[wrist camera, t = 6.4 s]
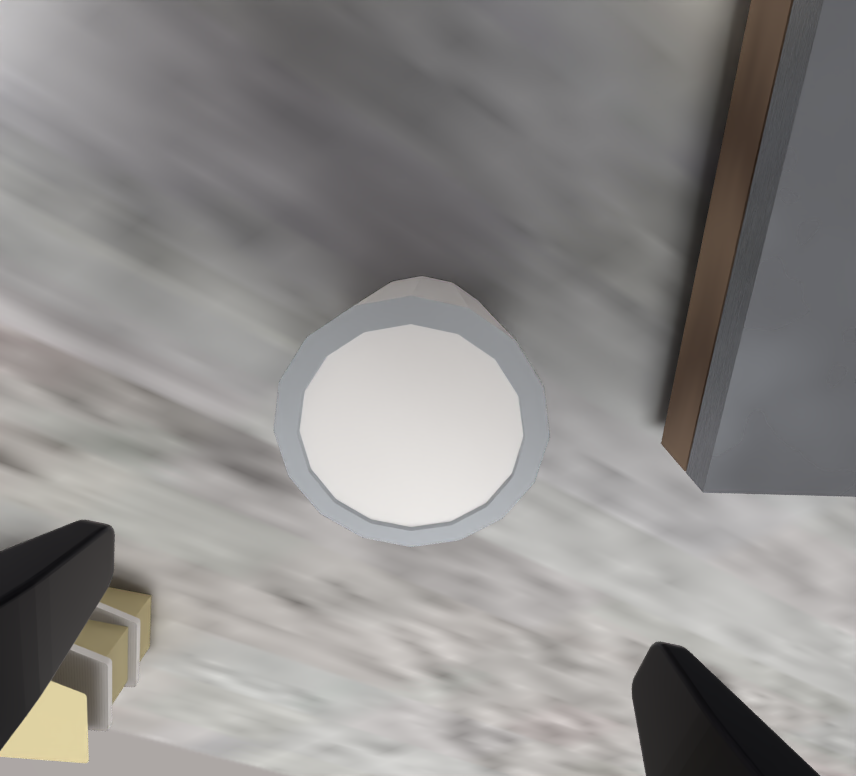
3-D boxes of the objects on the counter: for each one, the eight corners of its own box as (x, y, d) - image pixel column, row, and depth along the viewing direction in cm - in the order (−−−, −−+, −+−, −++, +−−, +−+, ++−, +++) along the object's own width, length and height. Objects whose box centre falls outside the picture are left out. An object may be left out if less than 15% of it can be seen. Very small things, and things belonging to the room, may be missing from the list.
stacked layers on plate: (199, 544, 23) (129, 645, 18) (189, 684, 26) (127, 804, 21) (-28, 499, 23) (-167, 590, 17) (-10, 648, 26) (-123, 761, 21)
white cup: (476, 227, 17) (497, 248, 11) (537, 400, 20) (584, 505, 13) (298, 300, 19) (220, 360, 12) (375, 457, 21) (343, 579, 14)
